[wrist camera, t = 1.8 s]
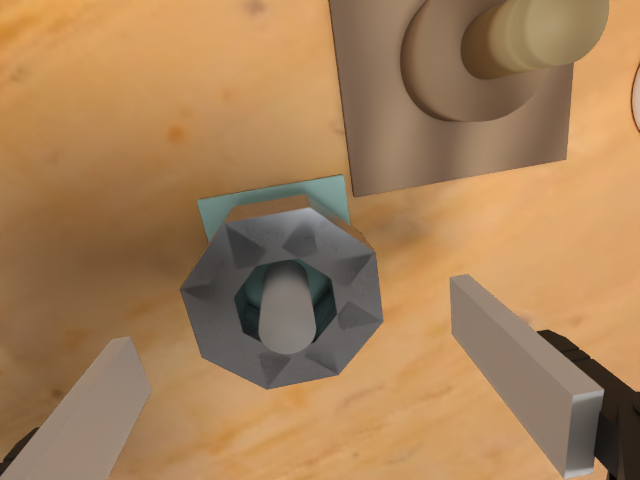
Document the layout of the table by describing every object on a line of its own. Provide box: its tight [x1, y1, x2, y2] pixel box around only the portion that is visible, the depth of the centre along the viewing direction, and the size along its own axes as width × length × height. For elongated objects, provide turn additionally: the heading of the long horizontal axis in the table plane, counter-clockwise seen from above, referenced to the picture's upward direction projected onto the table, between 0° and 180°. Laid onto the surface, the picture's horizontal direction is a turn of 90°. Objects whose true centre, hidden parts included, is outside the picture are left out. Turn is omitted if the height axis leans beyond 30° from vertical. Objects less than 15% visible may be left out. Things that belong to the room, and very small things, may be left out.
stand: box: [197, 174, 350, 354], centre depth 19 cm, size 9×9×9 cm
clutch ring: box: [180, 194, 383, 389], centre depth 18 cm, size 9×9×3 cm
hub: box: [329, 0, 609, 197], centre depth 17 cm, size 14×14×8 cm
